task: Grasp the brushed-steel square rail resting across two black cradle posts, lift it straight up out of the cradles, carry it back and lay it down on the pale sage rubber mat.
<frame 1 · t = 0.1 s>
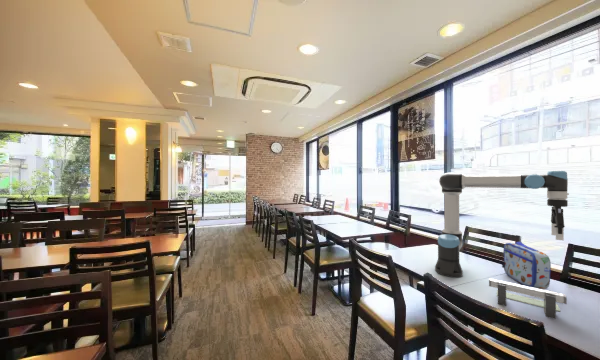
hand: (557, 237, 128), 28 cm above the table, fingers open, 13 cm apart
post left: (501, 302, 114), on the table
rail: (524, 293, 108), point 7 cm above the table, touching post left, post right
lunch box: (523, 281, 137), on the table
mat: (525, 300, 115), on the table
post right: (549, 314, 103), on the table
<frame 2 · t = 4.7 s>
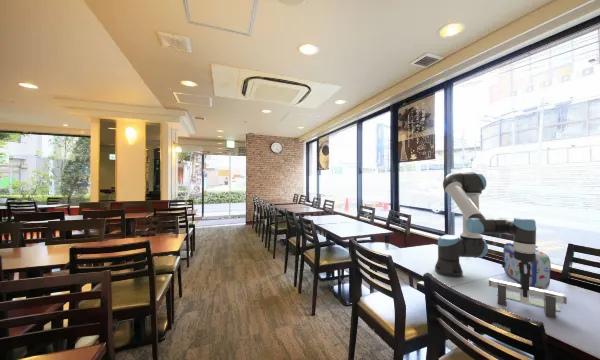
hand: (524, 301, 108), 3 cm above the table, fingers closed on rail, 3 cm apart
rail: (524, 293, 108), point 7 cm above the table, touching gripper, post right
everything else where it was.
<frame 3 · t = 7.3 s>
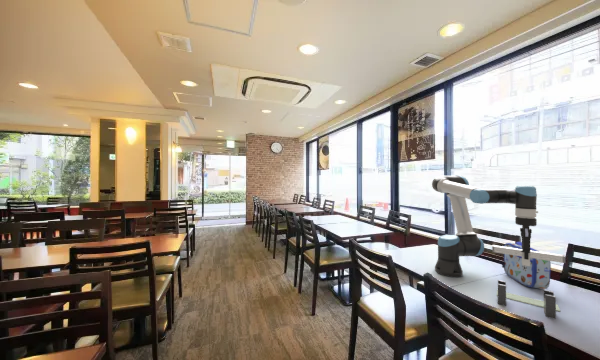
hand: (525, 264, 115), 18 cm above the table, fingers closed on rail, 3 cm apart
rail: (525, 256, 115), point 22 cm above the table, touching gripper
everything else where it was.
when the fingers open (2 cm above the table, at t = 10.4 s): rail drops 5 cm, resting on mat.
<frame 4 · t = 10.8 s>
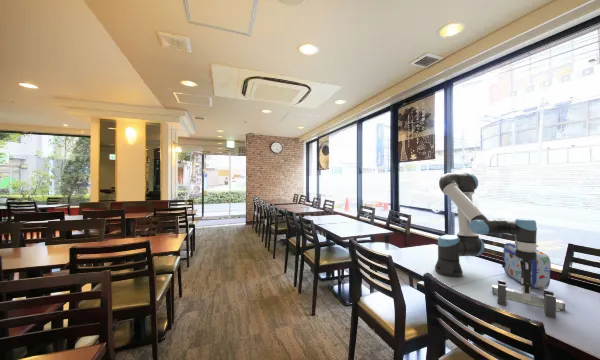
hand: (525, 295, 115), 3 cm above the table, fingers open, 9 cm apart
rail: (525, 299, 115), resting on mat
everything else where it was.
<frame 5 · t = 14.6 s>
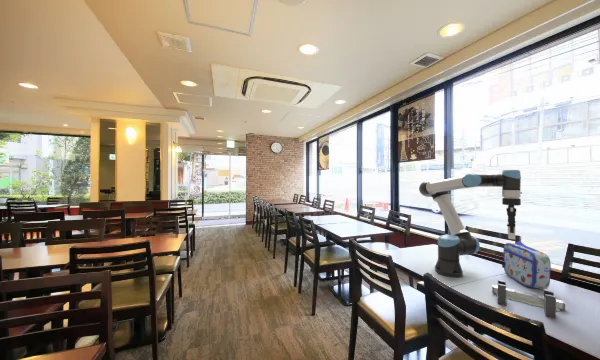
hand: (511, 236, 128), 29 cm above the table, fingers open, 13 cm apart
nothing on the table moved.
at the end: rail inside the target area (0.0 cm from its centre), point 0.5 cm above the table; rail touching mat; the gripper is holding nothing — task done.
